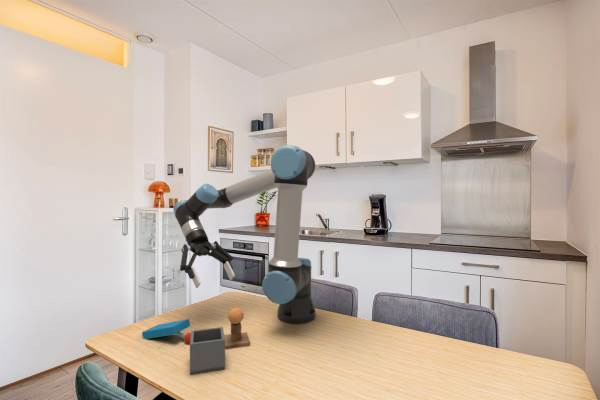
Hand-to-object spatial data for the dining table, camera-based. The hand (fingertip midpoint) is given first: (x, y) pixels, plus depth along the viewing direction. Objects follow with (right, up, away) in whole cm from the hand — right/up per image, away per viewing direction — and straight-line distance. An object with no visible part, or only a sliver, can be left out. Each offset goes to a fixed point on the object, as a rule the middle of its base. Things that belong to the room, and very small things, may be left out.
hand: (216, 281), depth 107 cm
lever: (-14, -18, -5) cm, 23 cm away
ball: (+8, -9, -7) cm, 14 cm away
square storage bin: (+3, -18, -21) cm, 27 cm away
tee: (+8, -18, -7) cm, 21 cm away
